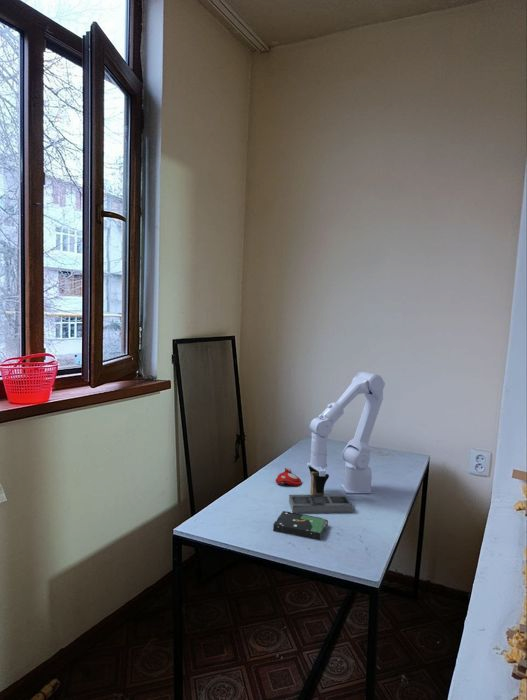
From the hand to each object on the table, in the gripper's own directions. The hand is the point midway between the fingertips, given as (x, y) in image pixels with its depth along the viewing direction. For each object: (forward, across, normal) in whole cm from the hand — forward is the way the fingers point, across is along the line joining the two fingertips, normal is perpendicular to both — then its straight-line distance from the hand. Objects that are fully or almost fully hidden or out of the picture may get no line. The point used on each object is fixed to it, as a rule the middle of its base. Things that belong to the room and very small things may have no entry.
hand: (317, 488), depth 174 cm
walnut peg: (+2, 0, 0) cm, 2 cm away
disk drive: (+3, +25, -10) cm, 27 cm away
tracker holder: (+3, -14, -8) cm, 16 cm away
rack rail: (+2, +10, -1) cm, 10 cm away
